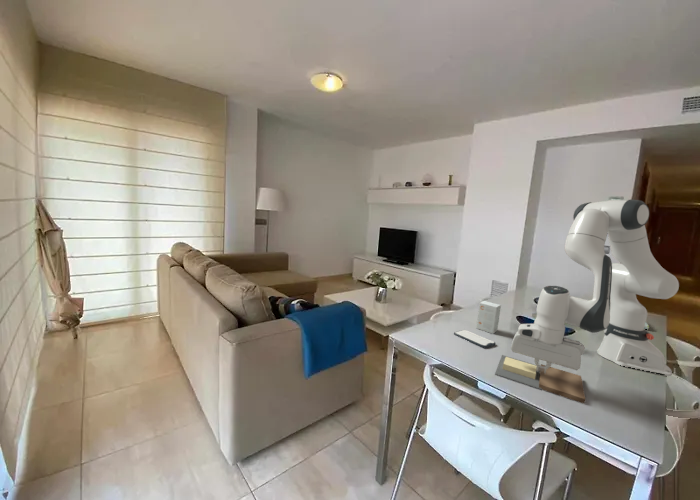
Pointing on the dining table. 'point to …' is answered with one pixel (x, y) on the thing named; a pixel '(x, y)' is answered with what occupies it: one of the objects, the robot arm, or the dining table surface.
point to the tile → (520, 367)
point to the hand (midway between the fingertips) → (540, 371)
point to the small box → (488, 316)
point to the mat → (517, 375)
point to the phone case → (475, 339)
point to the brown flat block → (562, 384)
